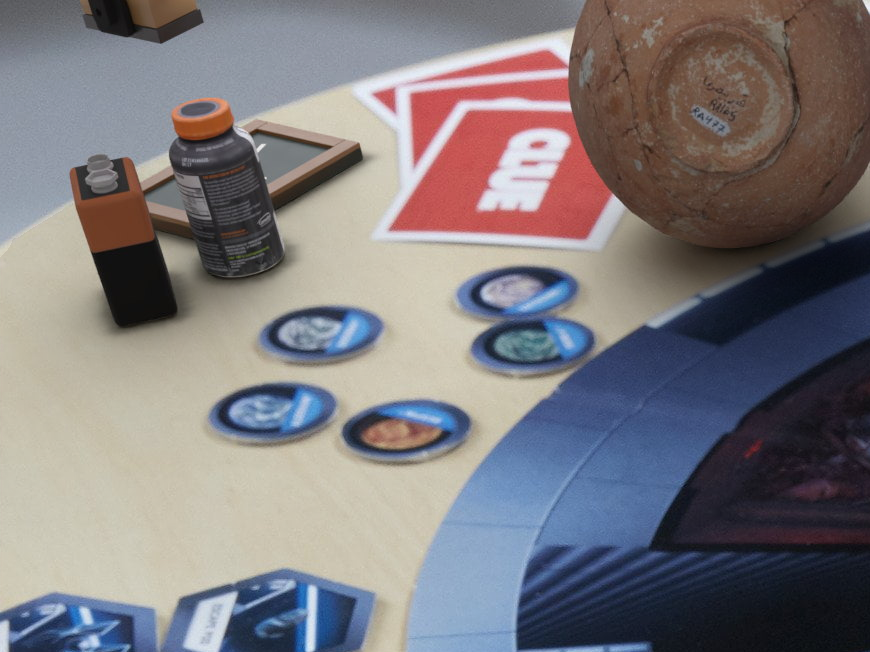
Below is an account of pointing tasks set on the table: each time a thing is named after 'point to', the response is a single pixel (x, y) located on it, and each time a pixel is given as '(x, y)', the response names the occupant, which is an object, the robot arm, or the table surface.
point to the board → (282, 167)
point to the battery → (122, 240)
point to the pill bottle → (223, 190)
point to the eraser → (155, 18)
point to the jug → (724, 111)
